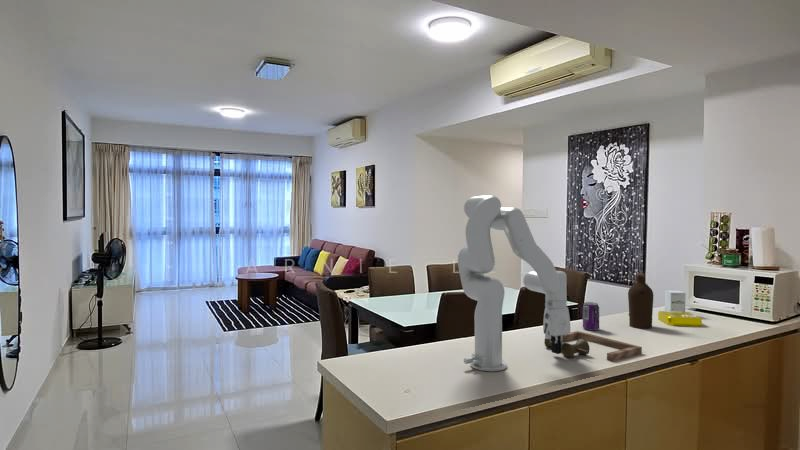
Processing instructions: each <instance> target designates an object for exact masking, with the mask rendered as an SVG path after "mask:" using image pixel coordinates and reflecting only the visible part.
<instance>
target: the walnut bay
mask: <svg viewBox="0 0 800 450" xmlns="http://www.w3.org/2000/svg"><path fill="white" fill-rule="evenodd" d="M576 339H577V340H579V339H584V340H586V341H587V342H590V343H595V344H599V345H602V346H606V347H610V348H614V349H617V350H614V351H610V352H607V353H606V361H609V362H615V361H618V360H619V361H620V360H623V359H626V358H630V357H634V356H637V355H641V354H642V353H643V352H642V351H643V349H642V346H640V345H635V344H631V343H627V342H623V341H619V340H616V339H611V338H607V337H604V336H599V335H596V334H591V333H588V332H583V331H579V330H576V331H572V332H571V331H570V333H569V334H567V335H566V336H564V337H563V341H562V342H564V343H565V342H567V341H573V340H576Z"/></svg>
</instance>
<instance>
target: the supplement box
mask: <svg viewBox="0 0 800 450" xmlns="http://www.w3.org/2000/svg"><path fill="white" fill-rule="evenodd" d="M686 293H687V292H684V291H681V290H672V289H671V290H668V289H667V290H666V289H665V290H664V311H671V312H672V311H673V312H686V295H687V294H686Z"/></svg>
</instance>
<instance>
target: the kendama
mask: <svg viewBox="0 0 800 450" xmlns="http://www.w3.org/2000/svg"><path fill="white" fill-rule="evenodd" d="M544 346H545V347H546V348H548V349H550V348H552V343H551V342H550V339H546V338H545V337H544ZM589 353H590V344H589V341H587V340H584V339H579V338H578V339H577V340H576V343H573V344H571V343H569V342H565V341H564V342H562V343H561V354H562V356H563V357H565V358H567V359H571V358H572V357H573V356H574V355H575V354H580V355H584V356H586V355H588V354H589Z"/></svg>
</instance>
